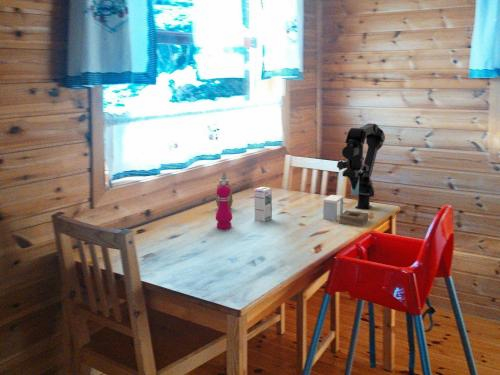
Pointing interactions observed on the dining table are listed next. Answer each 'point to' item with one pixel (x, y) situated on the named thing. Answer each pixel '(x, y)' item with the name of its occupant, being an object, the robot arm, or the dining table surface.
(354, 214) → the socket
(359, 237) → the dining table surface
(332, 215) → the small white footstool
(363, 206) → the robot arm
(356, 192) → the peg
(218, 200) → the squeeze bottle
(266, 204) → the syrup box
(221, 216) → the pepper mill
